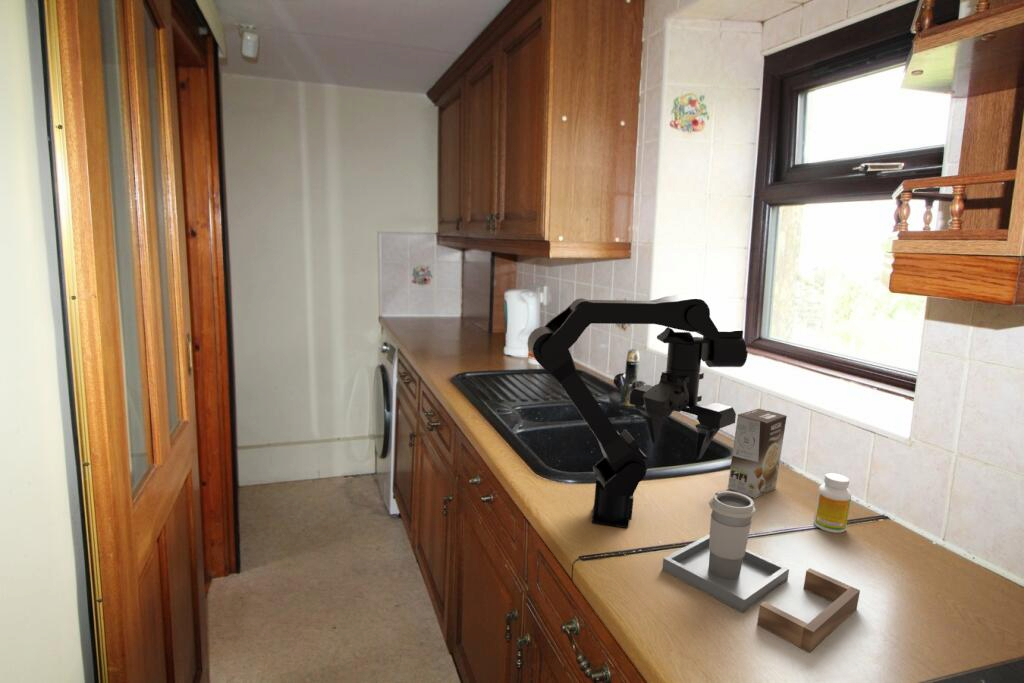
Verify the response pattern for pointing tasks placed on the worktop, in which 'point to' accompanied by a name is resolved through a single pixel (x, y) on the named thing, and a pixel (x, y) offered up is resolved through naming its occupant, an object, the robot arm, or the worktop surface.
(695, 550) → the tray
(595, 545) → the worktop surface
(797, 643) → the cubby
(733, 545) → the cup
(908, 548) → the worktop surface
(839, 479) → the supplement bottle
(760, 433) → the coffee box
